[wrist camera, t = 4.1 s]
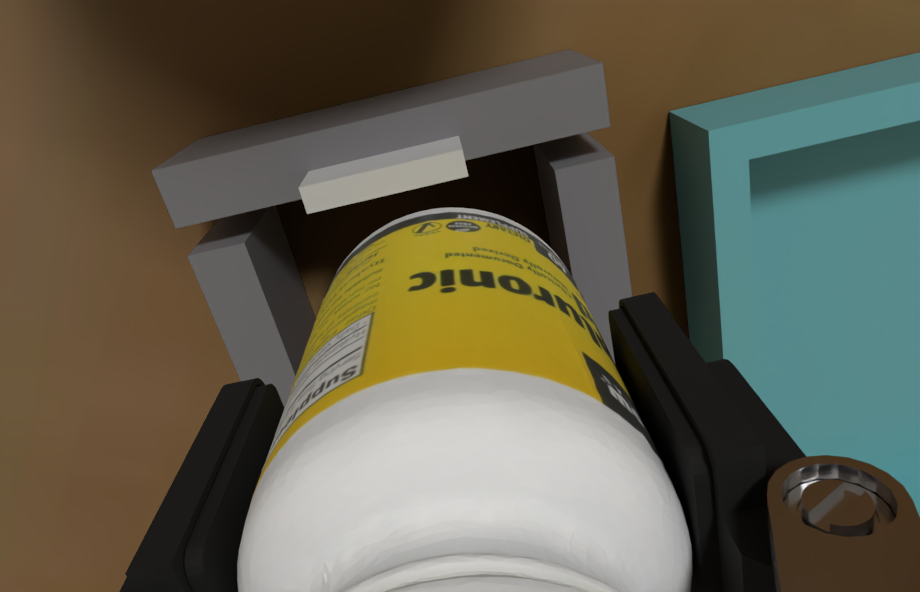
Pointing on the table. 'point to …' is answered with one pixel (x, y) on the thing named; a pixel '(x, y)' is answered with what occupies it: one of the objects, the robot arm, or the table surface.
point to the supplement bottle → (461, 432)
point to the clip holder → (392, 190)
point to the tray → (812, 254)
